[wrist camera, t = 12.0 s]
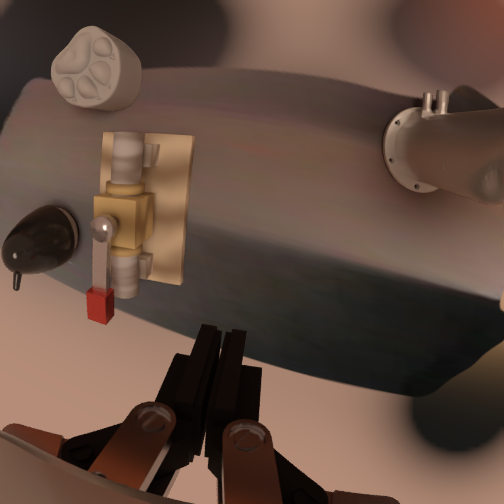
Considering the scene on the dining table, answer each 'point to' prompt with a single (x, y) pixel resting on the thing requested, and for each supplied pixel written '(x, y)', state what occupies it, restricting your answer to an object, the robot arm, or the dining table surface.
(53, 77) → the lumpy-topped squat cylinder
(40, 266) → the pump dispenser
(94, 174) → the dining table surface
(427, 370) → the dining table surface
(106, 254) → the valve lever
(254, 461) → the robot arm
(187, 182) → the valve bench
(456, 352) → the dining table surface
